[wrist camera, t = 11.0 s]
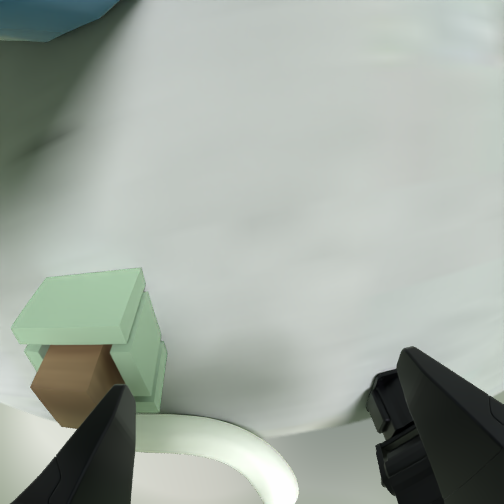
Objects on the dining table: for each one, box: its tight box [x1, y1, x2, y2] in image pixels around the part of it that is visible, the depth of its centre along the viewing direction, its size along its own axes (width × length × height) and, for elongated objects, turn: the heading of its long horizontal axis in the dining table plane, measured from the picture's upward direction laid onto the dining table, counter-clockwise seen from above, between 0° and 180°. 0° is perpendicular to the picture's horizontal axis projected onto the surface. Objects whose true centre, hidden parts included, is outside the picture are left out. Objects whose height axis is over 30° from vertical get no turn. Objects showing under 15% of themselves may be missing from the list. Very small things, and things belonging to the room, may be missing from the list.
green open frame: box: [11, 268, 167, 413], centre depth 19 cm, size 8×8×6 cm
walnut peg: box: [30, 344, 125, 429], centre depth 18 cm, size 4×4×9 cm
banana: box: [135, 414, 299, 504], centre depth 22 cm, size 5×19×15 cm, turn 72°
